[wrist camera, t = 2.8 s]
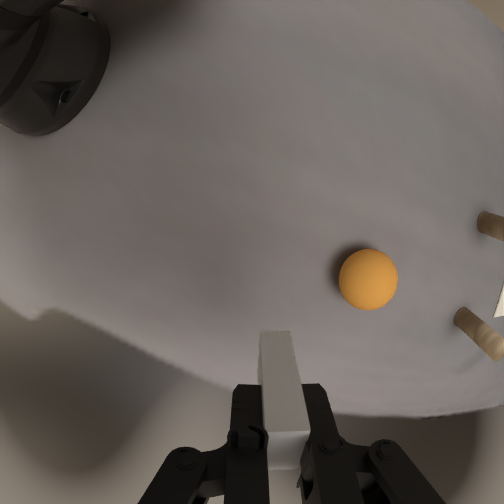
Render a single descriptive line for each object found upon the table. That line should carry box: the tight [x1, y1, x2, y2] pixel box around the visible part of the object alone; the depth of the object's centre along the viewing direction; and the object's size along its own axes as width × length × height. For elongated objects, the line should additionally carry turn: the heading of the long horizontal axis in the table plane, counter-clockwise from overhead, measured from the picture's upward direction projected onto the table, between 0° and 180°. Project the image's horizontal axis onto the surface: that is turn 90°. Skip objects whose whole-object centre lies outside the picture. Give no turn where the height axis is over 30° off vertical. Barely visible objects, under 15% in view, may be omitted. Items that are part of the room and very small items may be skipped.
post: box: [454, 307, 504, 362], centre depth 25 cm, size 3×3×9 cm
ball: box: [339, 249, 398, 310], centre depth 24 cm, size 6×6×6 cm
